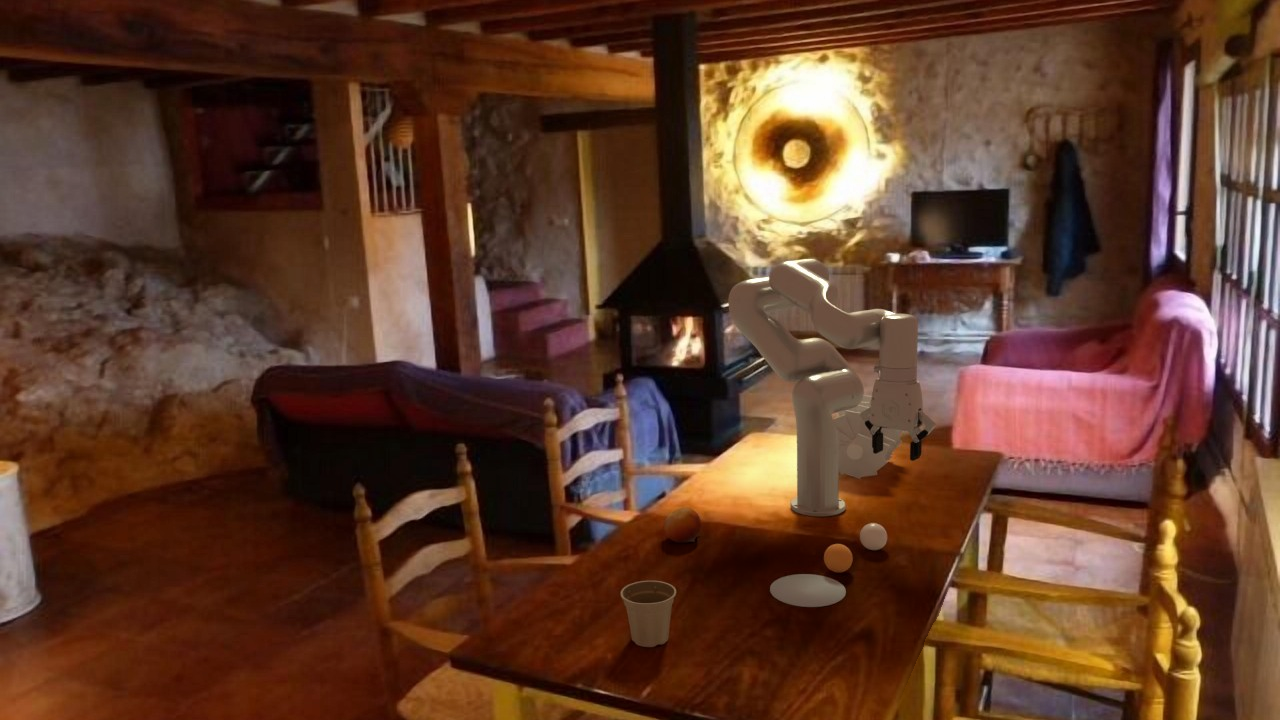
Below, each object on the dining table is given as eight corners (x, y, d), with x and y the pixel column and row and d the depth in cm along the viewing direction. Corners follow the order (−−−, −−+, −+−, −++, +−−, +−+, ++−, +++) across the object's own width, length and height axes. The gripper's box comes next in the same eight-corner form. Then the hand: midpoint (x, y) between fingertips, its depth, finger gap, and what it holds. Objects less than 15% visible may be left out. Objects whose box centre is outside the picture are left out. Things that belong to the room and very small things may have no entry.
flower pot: (620, 628, 167) (618, 582, 165) (674, 624, 167) (672, 578, 166) (624, 654, 158) (622, 605, 156) (681, 650, 158) (679, 601, 157)
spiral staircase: (837, 494, 243) (857, 462, 265) (901, 472, 234) (917, 440, 256) (805, 430, 242) (829, 403, 264) (869, 406, 234) (887, 379, 256)
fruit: (707, 540, 201) (686, 509, 201) (676, 557, 203) (655, 526, 203) (711, 526, 209) (692, 496, 208) (681, 543, 211) (662, 513, 210)
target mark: (776, 572, 187) (776, 571, 187) (849, 578, 183) (849, 577, 183) (764, 602, 174) (764, 601, 174) (842, 610, 170) (842, 609, 170)
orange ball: (825, 564, 190) (825, 538, 189) (853, 566, 189) (853, 540, 188) (822, 575, 185) (822, 549, 184) (851, 578, 183) (851, 551, 182)
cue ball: (860, 543, 200) (860, 518, 199) (887, 545, 199) (888, 520, 198) (858, 553, 195) (858, 527, 194) (886, 555, 194) (886, 529, 192)
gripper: (851, 372, 200) (850, 452, 203) (929, 382, 189) (927, 467, 192) (869, 366, 205) (867, 444, 209) (946, 375, 194) (943, 458, 197)
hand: (896, 455), depth 200 cm, fingers open, 7 cm apart
